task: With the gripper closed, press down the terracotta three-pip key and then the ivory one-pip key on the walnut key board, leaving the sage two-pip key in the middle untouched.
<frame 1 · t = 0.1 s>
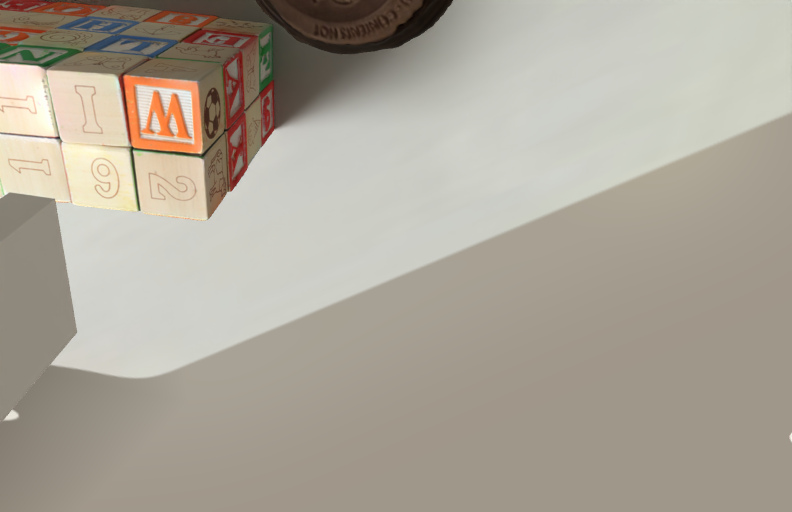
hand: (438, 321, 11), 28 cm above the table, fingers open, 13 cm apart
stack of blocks: (96, 57, 39), on the table
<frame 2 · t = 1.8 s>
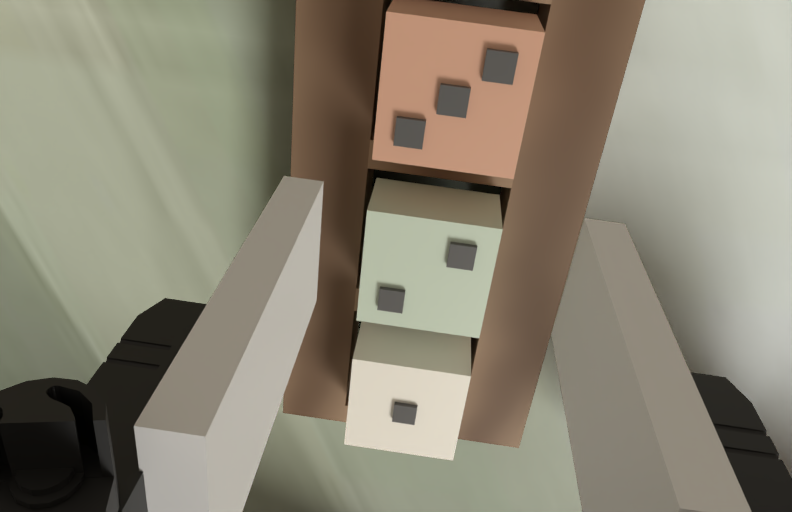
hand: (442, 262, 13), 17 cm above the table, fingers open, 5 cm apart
tile two: (427, 259, 27), point 5 cm above the table, slide at 0.0 cm
key board: (433, 207, 31), on the table
tile one: (407, 390, 31), point 5 cm above the table, slide at 0.0 cm
tile three: (454, 87, 23), point 5 cm above the table, slide at 0.0 cm
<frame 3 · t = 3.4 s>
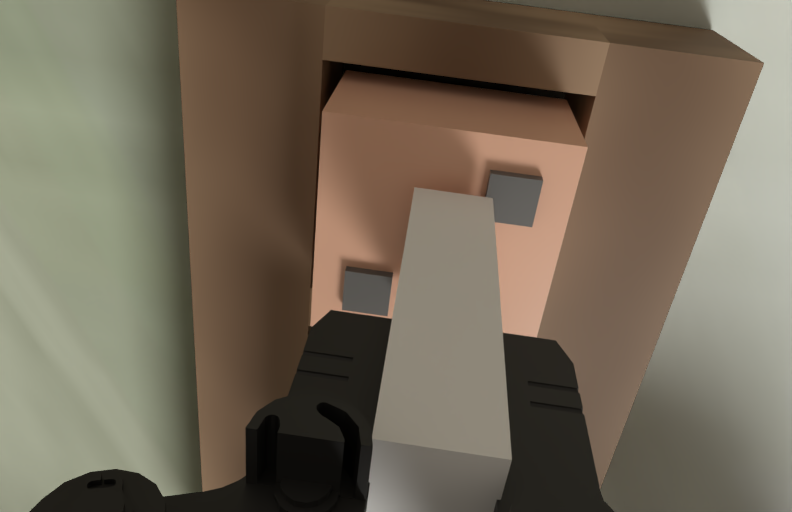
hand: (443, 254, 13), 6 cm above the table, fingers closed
key board: (411, 352, 22), on the table
tile three: (438, 214, 15), point 4 cm above the table, slide at 0.8 cm, touching gripper
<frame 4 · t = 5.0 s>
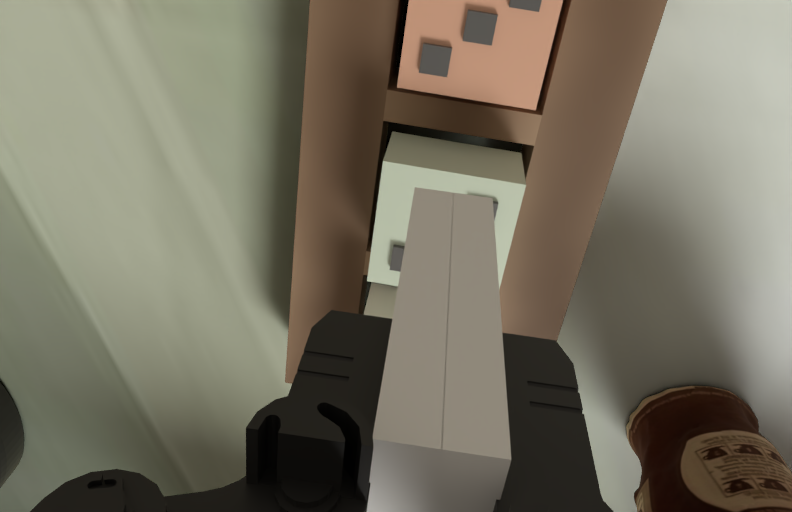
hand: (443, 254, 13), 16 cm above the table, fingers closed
coffee cup: (688, 422, 36), on the table
tile two: (443, 218, 26), point 5 cm above the table, slide at 0.0 cm
key board: (448, 170, 30), on the table
tile one: (416, 359, 29), point 5 cm above the table, slide at 0.0 cm
tile three: (479, 18, 24), point 3 cm above the table, slide at 2.1 cm
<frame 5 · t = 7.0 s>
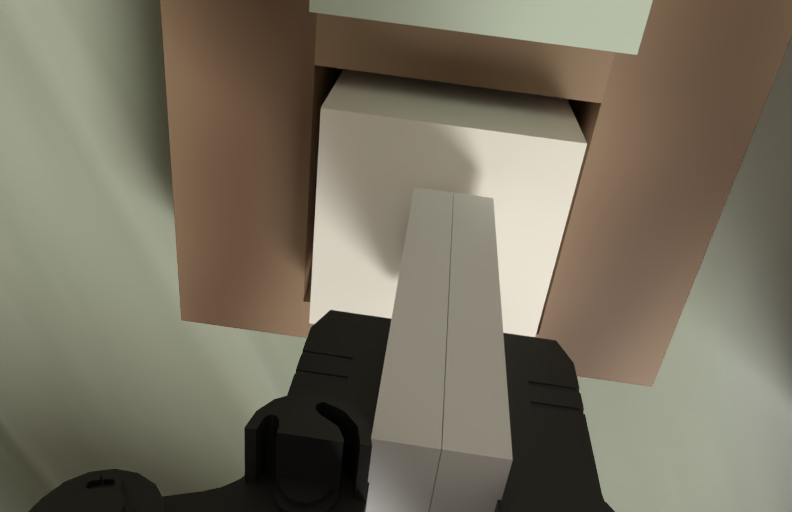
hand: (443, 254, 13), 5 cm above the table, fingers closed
tile one: (437, 211, 15), point 3 cm above the table, slide at 1.5 cm, touching gripper
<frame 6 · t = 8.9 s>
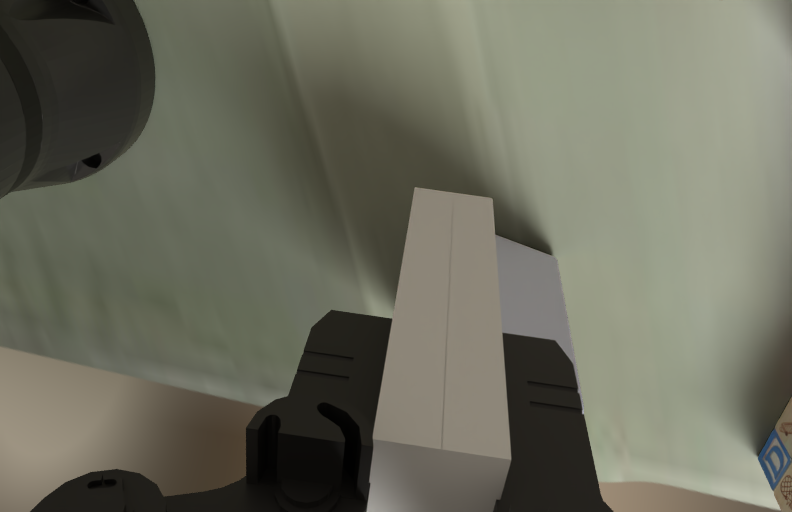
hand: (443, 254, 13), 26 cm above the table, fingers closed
soap bottle: (477, 288, 44), on the table
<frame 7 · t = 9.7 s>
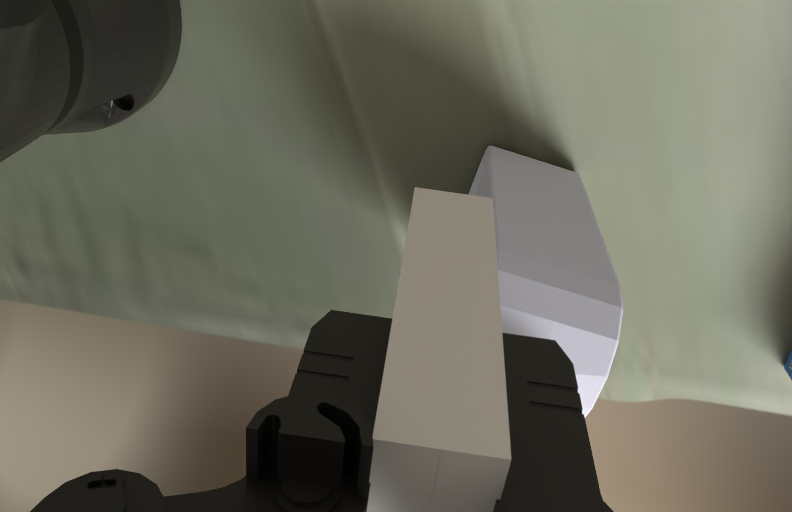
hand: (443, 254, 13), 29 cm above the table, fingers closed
soap bottle: (503, 212, 45), on the table
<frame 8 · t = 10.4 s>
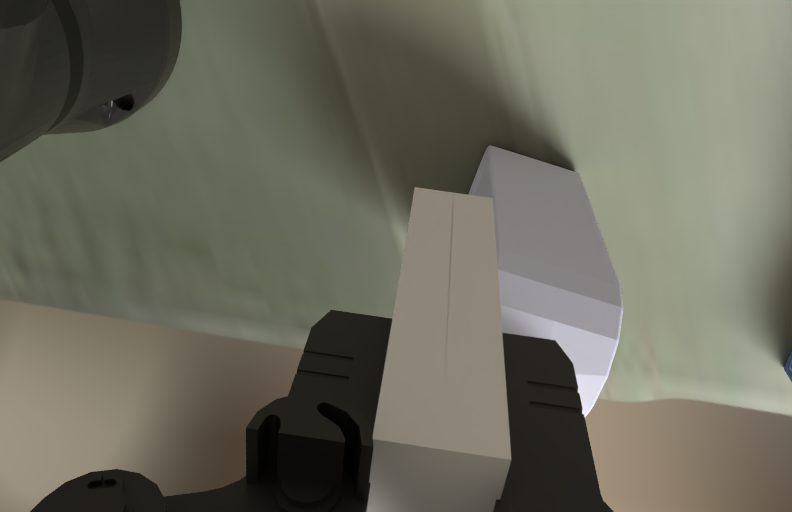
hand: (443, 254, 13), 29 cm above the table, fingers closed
soap bottle: (503, 212, 45), on the table
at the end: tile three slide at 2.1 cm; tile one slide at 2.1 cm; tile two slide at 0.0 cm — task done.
